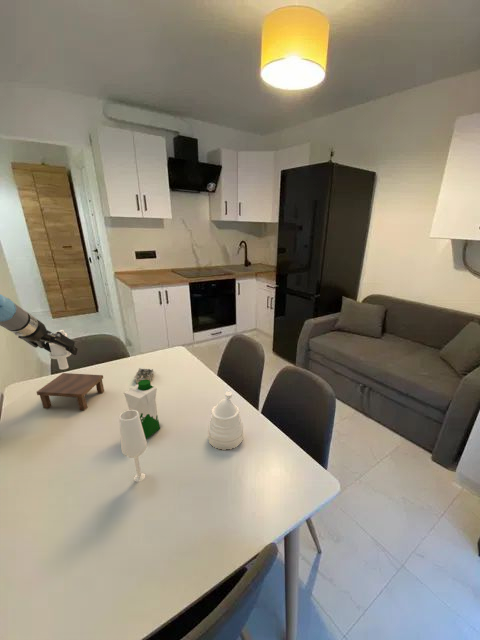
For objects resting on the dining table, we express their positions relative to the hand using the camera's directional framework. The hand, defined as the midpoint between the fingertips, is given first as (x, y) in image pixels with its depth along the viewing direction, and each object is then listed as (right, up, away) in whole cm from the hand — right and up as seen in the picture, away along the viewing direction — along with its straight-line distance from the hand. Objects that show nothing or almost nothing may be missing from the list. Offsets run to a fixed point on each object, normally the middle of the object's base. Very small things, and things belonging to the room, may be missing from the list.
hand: (66, 351), depth 117 cm
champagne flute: (+42, -39, -29) cm, 64 cm away
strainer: (0, -7, -1) cm, 7 cm away
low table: (-1, -21, +8) cm, 22 cm away
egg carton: (+21, -14, +26) cm, 36 cm away
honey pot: (+66, -32, -10) cm, 74 cm away
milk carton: (+36, -30, -9) cm, 48 cm away
